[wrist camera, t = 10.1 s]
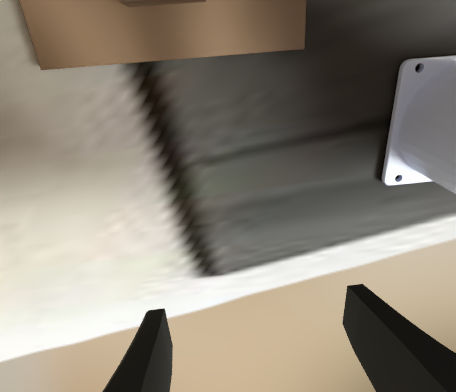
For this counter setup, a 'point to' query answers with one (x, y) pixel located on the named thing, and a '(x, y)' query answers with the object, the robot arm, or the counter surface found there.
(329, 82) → the counter surface
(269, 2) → the holder board
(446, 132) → the robot arm
